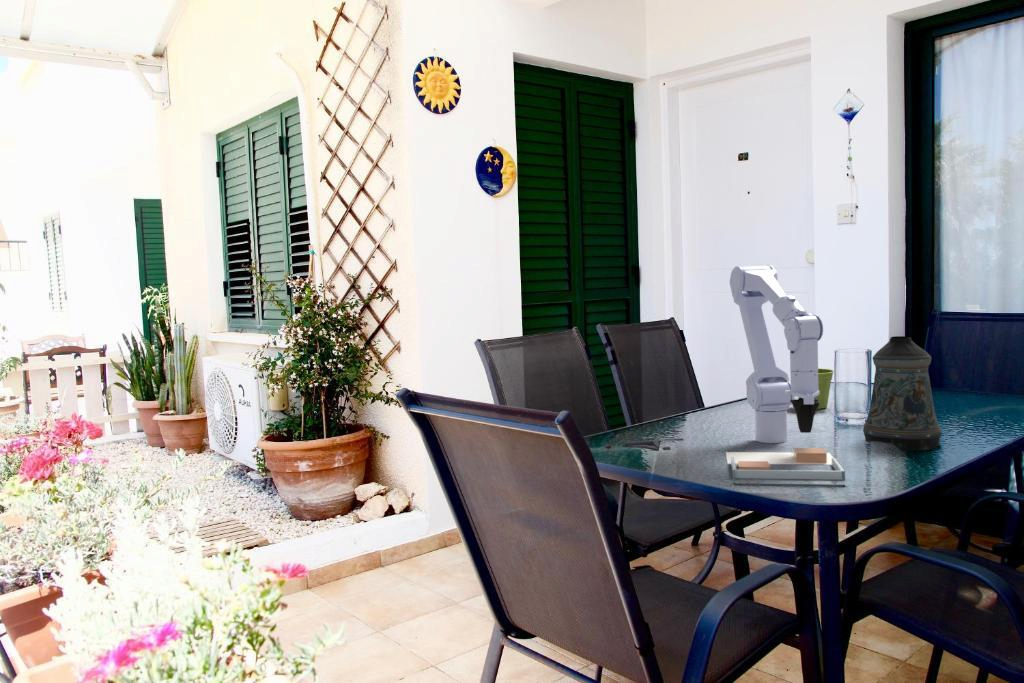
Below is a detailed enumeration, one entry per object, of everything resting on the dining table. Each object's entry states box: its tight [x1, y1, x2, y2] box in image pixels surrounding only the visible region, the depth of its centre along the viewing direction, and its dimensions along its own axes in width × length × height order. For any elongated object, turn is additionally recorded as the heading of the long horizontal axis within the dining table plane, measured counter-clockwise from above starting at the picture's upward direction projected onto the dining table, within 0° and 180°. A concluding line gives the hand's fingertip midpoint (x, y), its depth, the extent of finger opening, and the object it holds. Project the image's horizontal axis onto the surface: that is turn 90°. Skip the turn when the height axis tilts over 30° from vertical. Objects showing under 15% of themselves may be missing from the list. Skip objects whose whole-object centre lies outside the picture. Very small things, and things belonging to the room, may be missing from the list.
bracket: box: [624, 438, 684, 452], centre depth 192 cm, size 14×15×3 cm
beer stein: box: [862, 335, 943, 451], centre depth 188 cm, size 16×19×25 cm
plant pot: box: [814, 368, 835, 410], centre depth 240 cm, size 12×12×11 cm
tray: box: [730, 457, 846, 488], centre depth 161 cm, size 12×21×3 cm, turn 77°
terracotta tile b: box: [792, 447, 828, 463], centre depth 169 cm, size 5×6×2 cm
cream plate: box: [725, 451, 834, 466], centre depth 172 cm, size 11×22×2 cm, turn 77°
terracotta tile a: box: [737, 461, 771, 470], centre depth 164 cm, size 5×6×2 cm
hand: (805, 432), depth 176 cm, fingers closed
